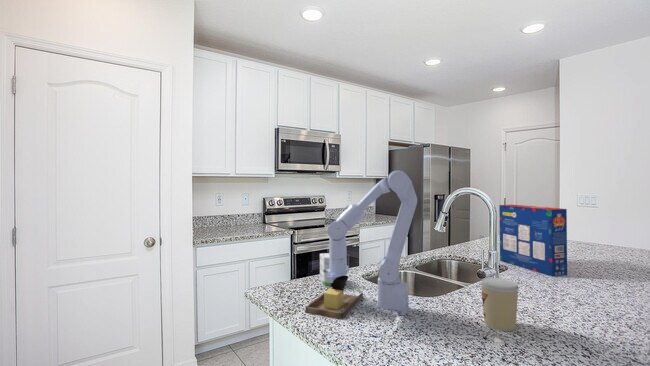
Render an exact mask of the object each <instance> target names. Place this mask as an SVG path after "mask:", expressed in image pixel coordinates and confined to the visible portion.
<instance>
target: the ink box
mask: <svg viewBox="0 0 650 366" xmlns="http://www.w3.org/2000/svg"><path fill="white" fill-rule="evenodd" d="M327 269H329V252H327V253H326V252H324V253H323V252H322V253H319V280H320V282H321V284H323V286H326V287H327V286H331V284H330V283H326V276H327V275H328V272H326V270H327Z"/></svg>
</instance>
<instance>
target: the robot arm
mask: <svg viewBox="0 0 650 366" xmlns="http://www.w3.org/2000/svg"><path fill="white" fill-rule="evenodd" d="M391 190H392V191H393V192H394V193H396V195H397V197H398V198H399V200H400V202H401V203H400V207H399V209H398V214H397V216H396V220H395V224H394V227H393V230H392V233H391V236H390V239H389V244H388V246H387V248H386V252H385V255H384V257H383V258H382V259H381V260H380V262H379V267H378V272H377V273H378V278H377V306H378V307H379V308H381V309H384V310H389V311H391V310H392V311H393V310H394V311H398V313H397V315H398V316H403V317H404V316H405V315H406V314H407V312H408V310H409V308H410V305H409V303H410V301H409V298H410V297H409V284H408V282H404V281H402V279H401V278H400V270H399V269H400V268H399V267H400V263H401V259H402V253H403V250H404V247H405V244H406V241H407V238H408V234H409V230H410V227H411V225H412V221H413V218H414V215H415V214H414V213H415V211H416V209H417V204H418V196H417V194H416V191H415V189H414V184H413V181H412V179H410V177H409V176H408V175H407V173H406V172H405V171H402V170H398V169H397V170H393V171H391V172H390V173H389V174H388V176H385V177H384V178H382V179H381V180H380V181H378V182H377V183H376V184H375V185H374V186H373V187H372V188H371V189H370V190H369V191H368V192H367V193H366V194H365V195H364V196H363V198H362V199H360V201H359V202H358V203H351V204H350V205H346V206H345V207H344V209H345V210H344V211H342V212H341V214H339V216H338V215H337V216H336V217H334V221H332V222H330V224H329V226H328V227H327V235H328V239H329V240H328V241H329V243H328V247H329V248H328V251H329V252H328V253H329V269H327V270H326V272H328V275H327V276H326V283H330V284H331V285H330V286H331V288H332V289H337V290H343V293H344V291H345V287H346V284H347V281H348V279H349V276H348V275H347V274H348V272H349V271H350V266H349V265H347V263H348V261H347V259H348V258H347V256H348V253H347V233H348V231H350V230H352V229H353V228H354V227H355V226H356V225H357V224H358V223H359V222H360V221H361V220H362V219H363V218H364V216H365V210H366V209H368V208H369V206H370V205H372V204H373V202H375V201H376V200H377V199H378V198H379V197H380V196H381V195H384V194H387V193H388V194H389V193H390V192H391Z"/></svg>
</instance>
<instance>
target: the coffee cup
mask: <svg viewBox="0 0 650 366" xmlns="http://www.w3.org/2000/svg"><path fill="white" fill-rule="evenodd" d="M480 287H481V300H482V310H483V311H482V312H483V321H484V325H486V326H487V327H489V328H491V329H493V330H497V331H501V332H502V331H503V332H511V331H514V330H515V329H516V327H517V326H516V324H517V316H518V315H517V312H518V299H519V297H518V295H519V290H520V287H519V286H518V284H517V282H515V281H513V280H511V279H507V278H501V277H485V278H482V280H481V281H480Z"/></svg>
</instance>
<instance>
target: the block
mask: <svg viewBox="0 0 650 366" xmlns="http://www.w3.org/2000/svg"><path fill="white" fill-rule="evenodd" d="M323 294H324V299H323V302H324V307H326V308H332V309H338V308H339V307H340V306H342V305H343V294H344V292H343V290H337V289H330V288H329V289H328V290H326V291H324V292H323Z"/></svg>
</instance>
